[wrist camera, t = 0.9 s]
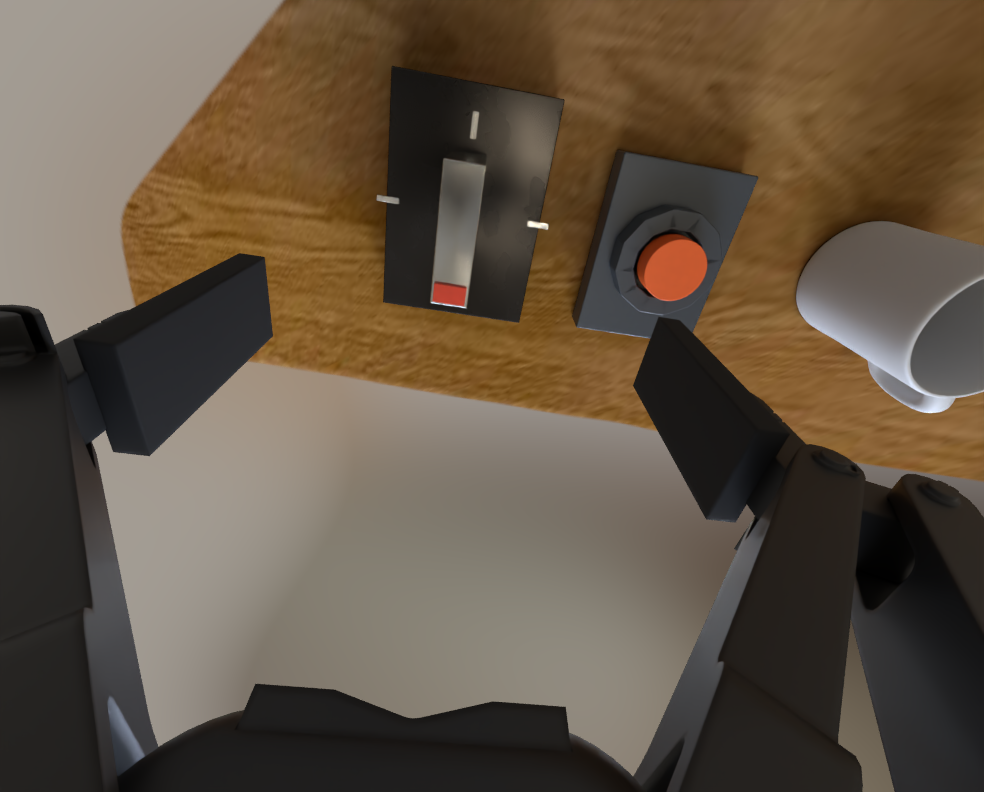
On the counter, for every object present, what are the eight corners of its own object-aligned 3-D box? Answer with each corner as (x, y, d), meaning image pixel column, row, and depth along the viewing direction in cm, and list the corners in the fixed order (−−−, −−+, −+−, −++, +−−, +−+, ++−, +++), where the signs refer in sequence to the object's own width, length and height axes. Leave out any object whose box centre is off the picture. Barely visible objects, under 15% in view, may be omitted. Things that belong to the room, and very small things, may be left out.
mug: (792, 246, 33) (910, 295, 24) (919, 200, 32) (1100, 234, 22) (797, 377, 39) (894, 458, 30) (905, 345, 37) (1043, 419, 28)
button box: (616, 149, 30) (632, 153, 27) (743, 173, 31) (774, 179, 27) (571, 317, 36) (580, 337, 33) (677, 333, 37) (697, 354, 33)
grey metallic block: (455, 148, 27) (442, 158, 20) (487, 154, 27) (486, 166, 20) (443, 263, 31) (429, 304, 24) (471, 267, 31) (466, 310, 24)
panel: (390, 68, 28) (380, 63, 25) (567, 103, 29) (575, 101, 26) (383, 288, 35) (374, 302, 32) (524, 309, 36) (527, 325, 33)
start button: (648, 228, 29) (656, 234, 28) (706, 238, 29) (718, 244, 28) (629, 287, 31) (635, 296, 30) (683, 296, 32) (693, 305, 30)
